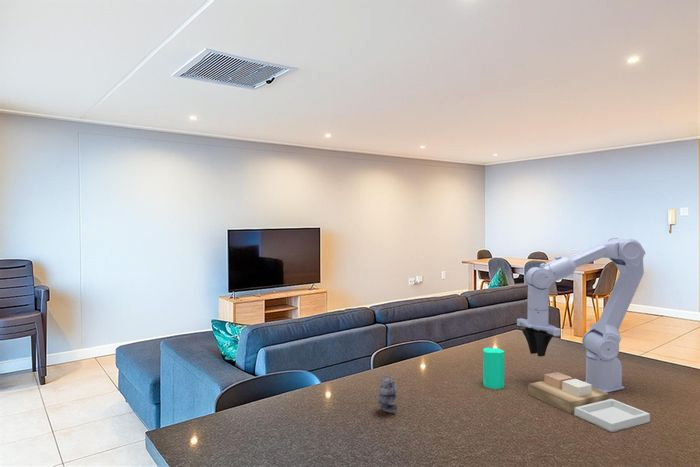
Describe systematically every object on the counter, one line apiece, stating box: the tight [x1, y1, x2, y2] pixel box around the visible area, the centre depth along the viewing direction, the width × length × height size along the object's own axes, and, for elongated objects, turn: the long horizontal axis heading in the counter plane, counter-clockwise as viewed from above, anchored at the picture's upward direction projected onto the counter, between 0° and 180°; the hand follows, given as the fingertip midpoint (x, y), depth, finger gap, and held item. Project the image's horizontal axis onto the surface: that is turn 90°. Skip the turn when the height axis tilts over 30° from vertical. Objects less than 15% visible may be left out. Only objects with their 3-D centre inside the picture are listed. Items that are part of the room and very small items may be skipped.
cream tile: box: [562, 378, 592, 397], centre depth 120 cm, size 5×5×2 cm
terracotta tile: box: [544, 371, 573, 389], centre depth 126 cm, size 5×5×2 cm
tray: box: [574, 398, 651, 433], centre depth 111 cm, size 14×10×2 cm
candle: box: [482, 347, 505, 390], centre depth 134 cm, size 6×6×12 cm
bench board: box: [527, 380, 610, 415], centre depth 123 cm, size 14×14×3 cm
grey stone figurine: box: [376, 374, 398, 413], centre depth 115 cm, size 5×5×10 cm
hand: (537, 354), depth 133 cm, fingers open, 2 cm apart
